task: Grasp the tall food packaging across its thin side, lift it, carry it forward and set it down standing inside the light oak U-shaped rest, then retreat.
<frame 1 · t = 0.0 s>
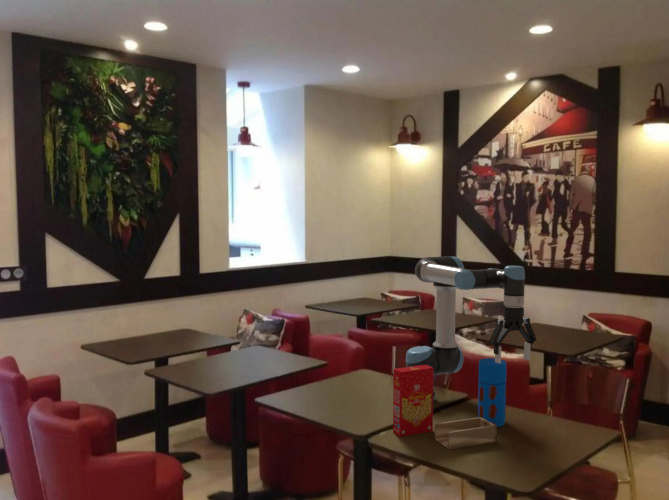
hand: (512, 361, 234), 28 cm above the table, fingers open, 13 cm apart
thermos: (491, 422, 247), on the table
food packaging: (412, 432, 236), on the table
u rest: (465, 440, 228), on the table
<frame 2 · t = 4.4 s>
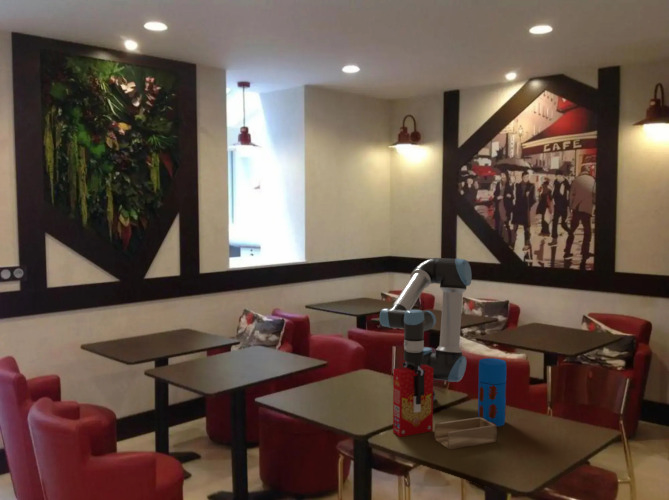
hand: (413, 409, 236), 9 cm above the table, fingers closed on food packaging, 5 cm apart
food packaging: (412, 432, 236), on the table, touching gripper
everything else where it was.
when the fingers open (11 cm above the table, at t = 9.4 s): food packaging drops 1 cm, resting on u rest.
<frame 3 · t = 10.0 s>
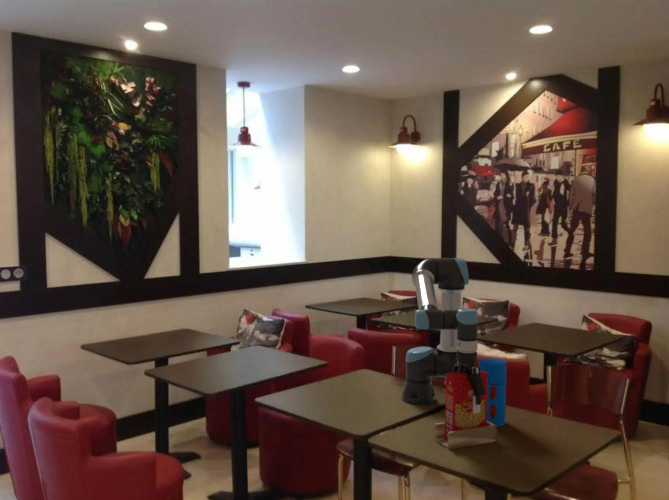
hand: (465, 407, 227), 13 cm above the table, fingers open, 13 cm apart
food packaging: (465, 439, 228), resting on u rest
everything else where it was.
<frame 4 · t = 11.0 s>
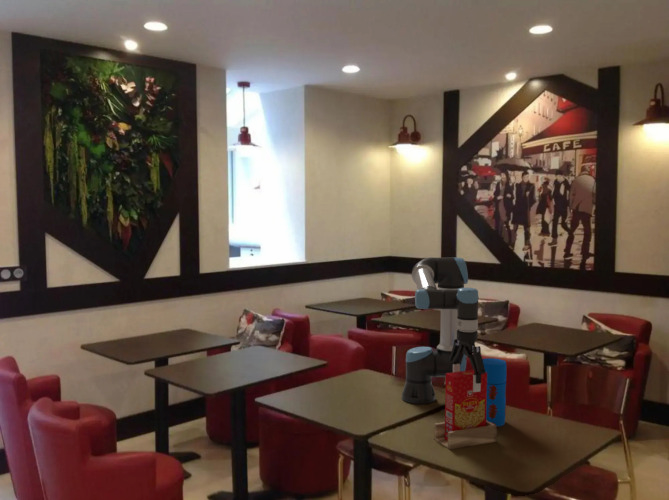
hand: (466, 386, 227), 21 cm above the table, fingers open, 13 cm apart
nothing on the table moved.
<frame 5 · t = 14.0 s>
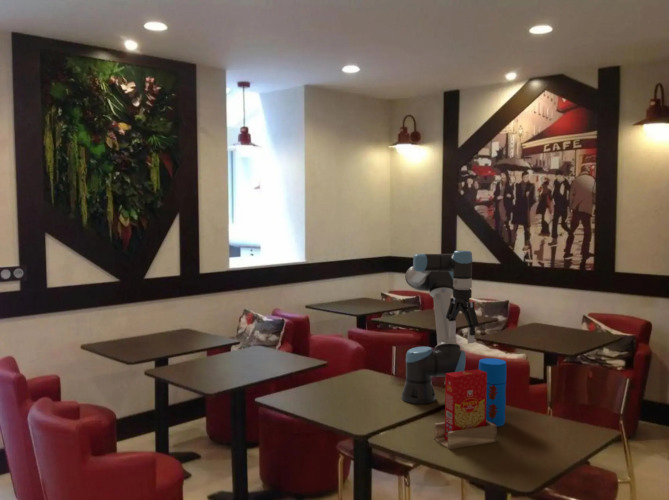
hand: (461, 339, 250), 33 cm above the table, fingers open, 13 cm apart
nothing on the table moved.
at the end: food packaging inside the target area on the u rest (0.1 cm from its centre), point 0.4 cm above the u rest's base; food packaging tilted 0°; the gripper is holding nothing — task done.
